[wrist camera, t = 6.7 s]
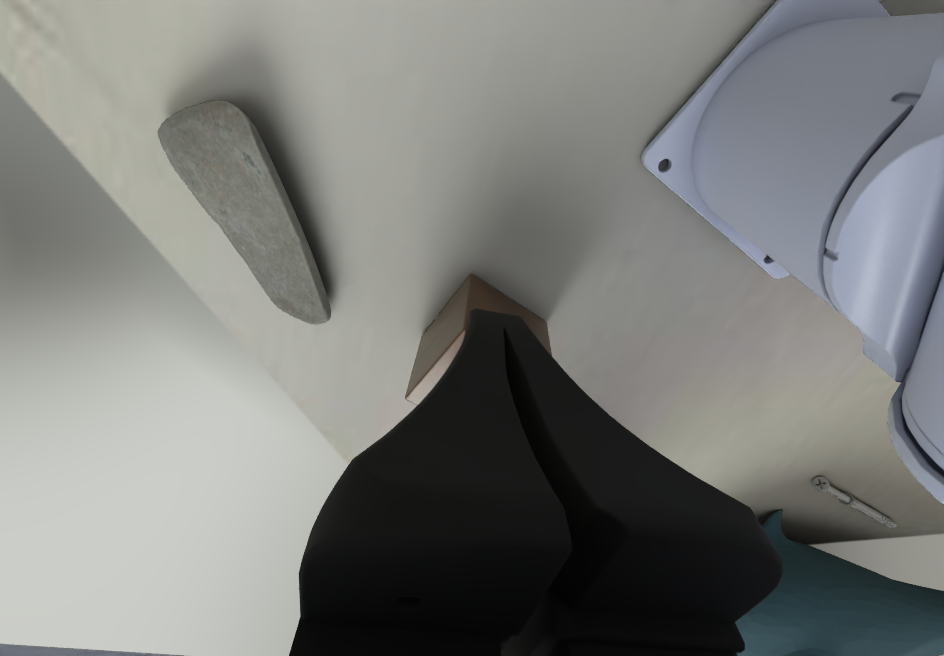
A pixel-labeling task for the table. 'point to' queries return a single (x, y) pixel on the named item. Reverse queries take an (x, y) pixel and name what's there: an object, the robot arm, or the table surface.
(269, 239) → the decorative stone
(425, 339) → the walnut block
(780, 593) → the toy
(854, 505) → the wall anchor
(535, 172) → the table surface
